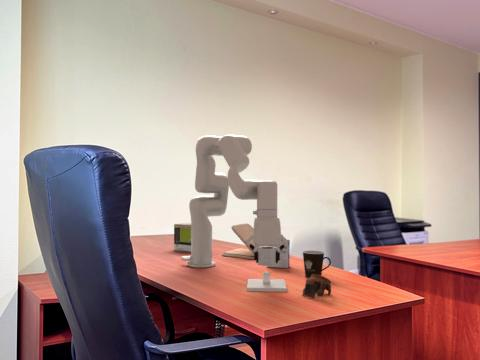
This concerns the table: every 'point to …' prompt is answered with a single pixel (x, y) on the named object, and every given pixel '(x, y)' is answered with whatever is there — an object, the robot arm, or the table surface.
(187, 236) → the tea box
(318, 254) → the coffee mug
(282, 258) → the ink cartridge box
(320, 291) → the brown animal figurine
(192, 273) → the table surface
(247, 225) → the case
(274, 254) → the collar
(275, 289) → the flange plate
